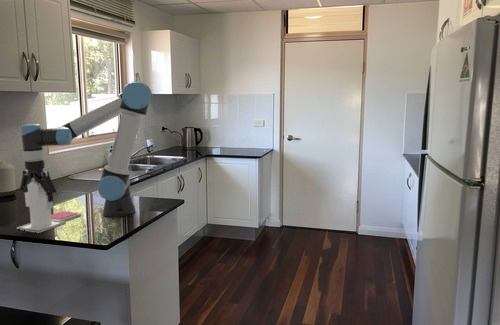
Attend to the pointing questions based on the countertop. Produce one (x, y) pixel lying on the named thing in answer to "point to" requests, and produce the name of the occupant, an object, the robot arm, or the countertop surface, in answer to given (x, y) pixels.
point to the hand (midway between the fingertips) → (39, 207)
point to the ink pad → (64, 216)
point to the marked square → (39, 229)
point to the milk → (38, 205)
